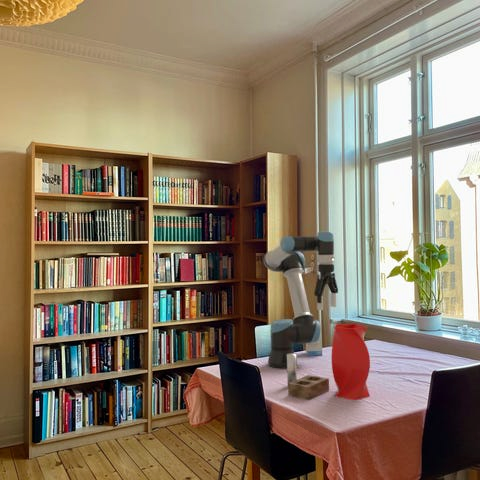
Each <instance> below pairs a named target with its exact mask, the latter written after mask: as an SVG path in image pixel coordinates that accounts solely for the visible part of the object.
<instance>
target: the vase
mask: <svg viewBox="0 0 480 480" xmlns="http://www.w3.org/2000/svg"><path fill="white" fill-rule="evenodd" d="M333 328H334V333H333V338H332V345H331V370H332V375H333V380H334V382H335V386H336V389H337V392H336V394H335V395H334V397H336V398H341V399H346V400H351V401H357V400H362V399H366V398H370V396H371V395H370V393H369V388H368V386H367V380H368V377H369V373H370V367H371V358H370V353H369V350H368V347H367V344H366V342H365V339H364V337H365V335H366V331H367V329H368V326H367V325H363V324H358V323H336V324H335V325H334V326H333Z"/></svg>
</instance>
